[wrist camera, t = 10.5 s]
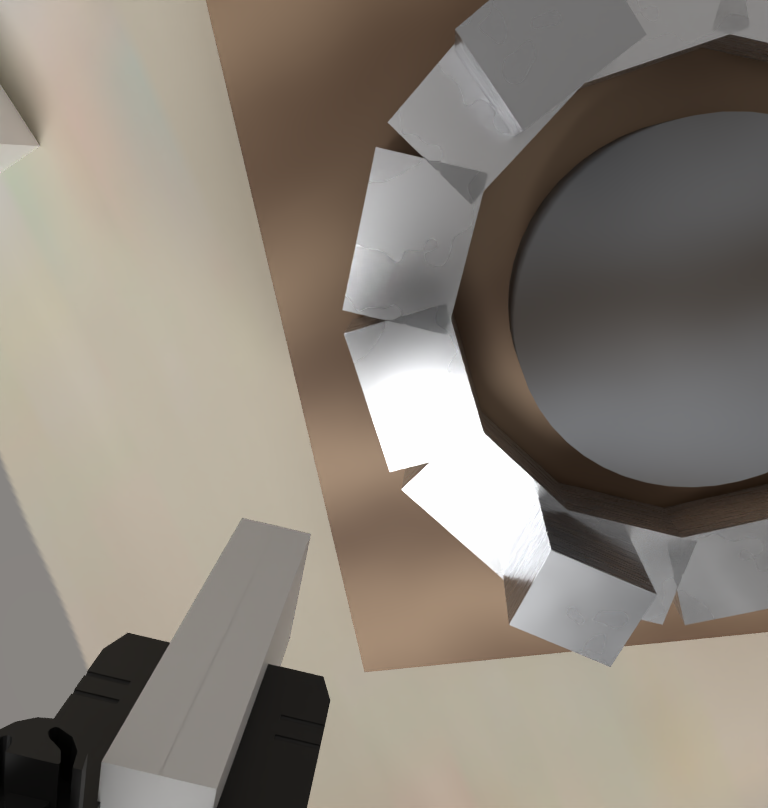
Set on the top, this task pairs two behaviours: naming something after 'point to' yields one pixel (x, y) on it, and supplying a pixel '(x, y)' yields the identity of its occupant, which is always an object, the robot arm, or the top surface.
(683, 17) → the grey block ring
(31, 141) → the bracket
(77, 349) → the top surface
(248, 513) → the top surface
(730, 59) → the walnut base
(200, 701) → the robot arm
